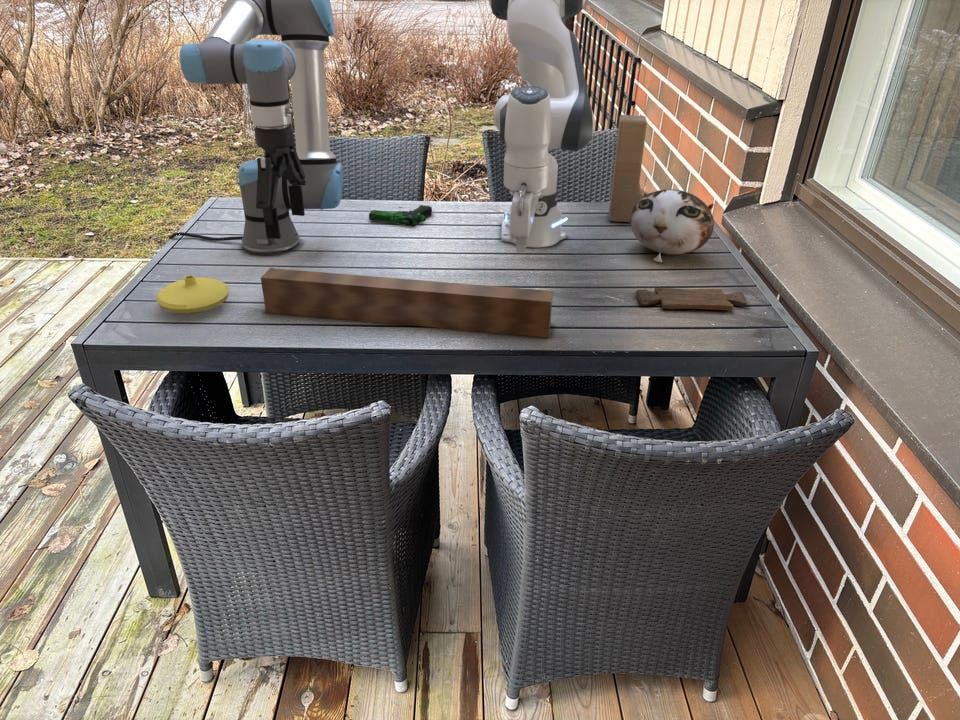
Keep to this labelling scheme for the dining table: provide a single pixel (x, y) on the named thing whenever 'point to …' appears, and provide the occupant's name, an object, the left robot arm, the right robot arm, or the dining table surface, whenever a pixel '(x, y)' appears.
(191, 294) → the yellow round disc
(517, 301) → the post
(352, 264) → the dining table surface
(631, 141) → the decorative block
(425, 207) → the handgun
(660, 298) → the dark wooden board
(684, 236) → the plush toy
